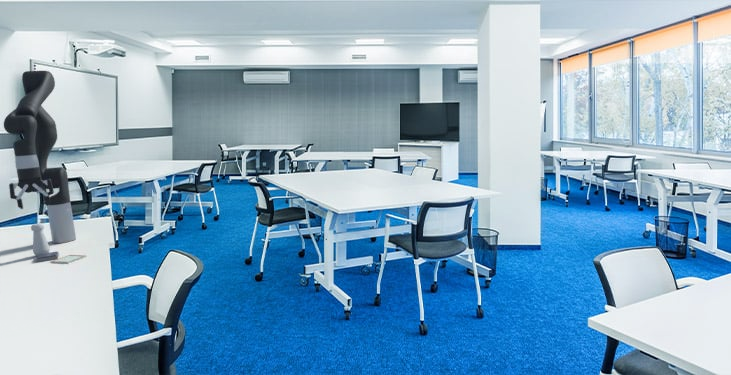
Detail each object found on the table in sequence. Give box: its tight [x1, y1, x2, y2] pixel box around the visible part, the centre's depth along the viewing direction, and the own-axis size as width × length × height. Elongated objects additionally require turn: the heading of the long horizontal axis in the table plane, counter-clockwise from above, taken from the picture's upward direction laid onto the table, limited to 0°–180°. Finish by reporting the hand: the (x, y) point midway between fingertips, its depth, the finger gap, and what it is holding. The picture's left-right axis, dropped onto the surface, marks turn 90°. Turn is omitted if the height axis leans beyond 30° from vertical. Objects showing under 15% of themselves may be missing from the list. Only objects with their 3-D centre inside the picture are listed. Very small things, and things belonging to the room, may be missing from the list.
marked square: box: [50, 254, 87, 264], centre depth 191 cm, size 8×8×1 cm
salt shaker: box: [30, 223, 51, 258], centre depth 198 cm, size 6×6×13 cm
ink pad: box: [35, 251, 60, 263], centre depth 194 cm, size 7×7×2 cm
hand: (34, 207), depth 196 cm, fingers open, 8 cm apart
